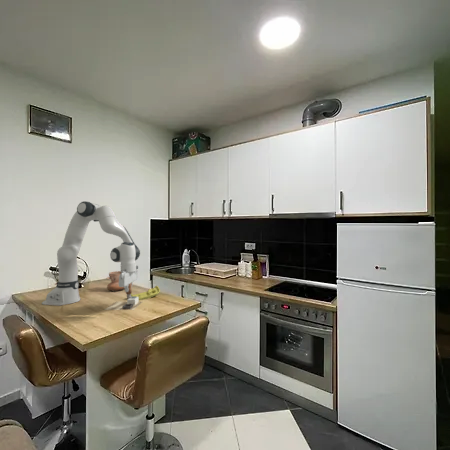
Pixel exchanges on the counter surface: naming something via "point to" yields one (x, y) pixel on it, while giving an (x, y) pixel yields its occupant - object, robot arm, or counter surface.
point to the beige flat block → (122, 306)
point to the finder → (133, 300)
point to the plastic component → (148, 293)
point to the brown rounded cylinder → (129, 291)
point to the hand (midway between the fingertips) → (128, 290)
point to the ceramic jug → (114, 281)
